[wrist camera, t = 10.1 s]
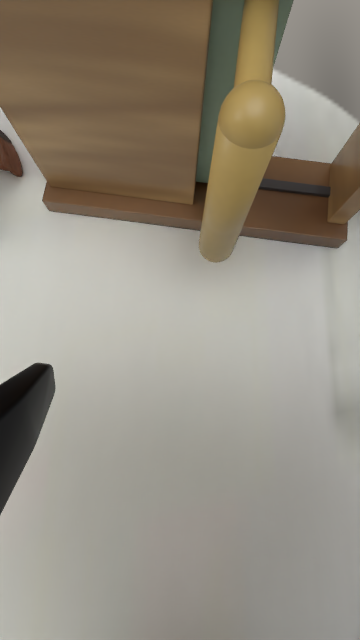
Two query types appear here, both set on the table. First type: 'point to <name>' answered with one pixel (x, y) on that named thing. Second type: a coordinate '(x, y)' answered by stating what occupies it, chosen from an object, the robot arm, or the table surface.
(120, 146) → the door frame
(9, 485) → the robot arm
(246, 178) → the door
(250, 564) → the table surface
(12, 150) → the brown miniature stool
